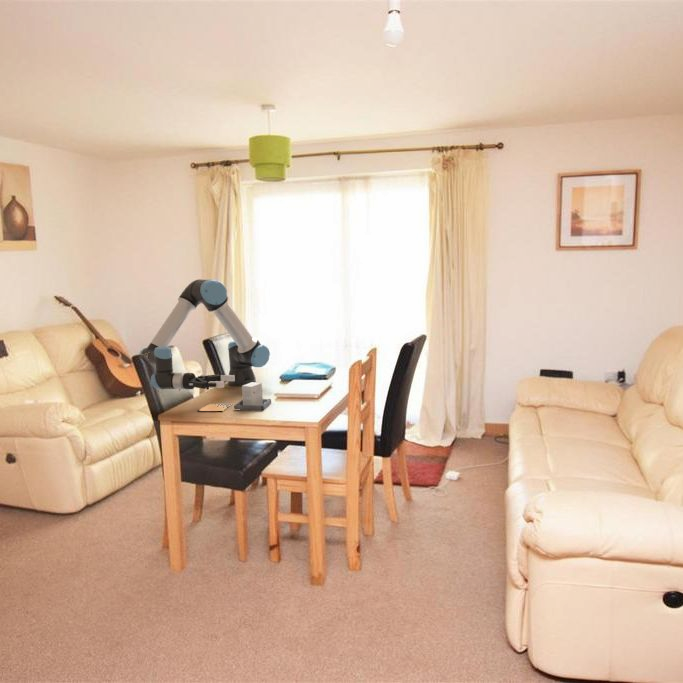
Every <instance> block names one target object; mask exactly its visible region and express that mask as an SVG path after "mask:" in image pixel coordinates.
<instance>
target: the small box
mask: <svg viewBox="0 0 683 683" xmlns="http://www.w3.org/2000/svg"><path fill="white" fill-rule="evenodd" d="M262 384H263V383H262V382H257V381H256V382H251V383H248V384H246V385H241V393H242V394H241V396H242V399H243V405H262V404H263V399H264V398H263V385H262Z"/></svg>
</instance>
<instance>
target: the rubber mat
mask: <svg viewBox="0 0 683 683" xmlns="http://www.w3.org/2000/svg"><path fill="white" fill-rule="evenodd" d="M216 404H218V406H219V405H220V404H221V405H223V404H224V405H226V407H228V406H229V405H231V404H232V403H220V402H219V403H217V402H216V403H215V405H216ZM221 405H220V406H221ZM224 405H223V406H224ZM218 406H217V407H218ZM231 406H232V405H231ZM223 408H224V407H223Z"/></svg>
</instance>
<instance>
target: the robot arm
mask: <svg viewBox="0 0 683 683" xmlns="http://www.w3.org/2000/svg"><path fill="white" fill-rule="evenodd" d="M227 290H228V289H227V287H226V286H225V284H224V283H223V282H221V281H220V280H216V279H201V278H200V279H196V280H193V281H192V282H190V283H189V284H188V285H187V286H186V287H185V288H184V289H183V291H182V292H181V293H180V295H179V297H178V298H177V300H178V301H177V304H176V305H175V306H174V308H173V309H172V311H171V313H169V315H168V316H167V318H166V319H165V321H164V322H163V324H162V325H161V326H160V328H159V330H158V331H157V332H156V335H155V336H154V337H153V339H152V340H151V341H150V343H149V344H148V346H147V347H145V348H143V349H141V350H140V352H139V355H141V354H145V353H148V352H150V353H148V359H149V362H150V364H151V365H150V366H153V367H155V372H153V373H152V375H151V376H150V384H152V385H151V387H152V386H153V387H154V389H155V388H156V389H155V390H157V389H158V390H178V391H182V390H194V389H195V388H196V389H202V390H210V388H211V389H217V388H218V389H219V388H220V389H223V388H225V382H226V383H227V385H229V386H237V387H238V386H243V385H246V384H248V383H251V382H256V383H257V379H256V375H255V372H254V371H253V368H252V367H254V368H262V367H264V366H266V365H267V363H268V362H269V360H270V355H271V353H270V349H269V347H267V346H266V345H264V344H261V341H259V339H258V338H257V337H255V336H252V334H251V333H250V332H249V331H248V329H247V328H246V326H245V325H244V324H243V322H242V321H241V319H240V318H239V316H238V315H237V313H236V312H235V310H234V309H233V308H232V306H231V305H230V304H229V296H228V294H227V293H228V291H227ZM200 304H203V306H204V307H205V308H206V309H207V311H208V312H212V313H213V314H214V315H215V317H216V318H217V320H218V321H219V323H220V324H221V325H222V326H223V328H224V329H225V330H226V332H227V333H228V334H229V336H230V337H231V339H232V340H233V341H230V342H229V343H228V347H227V348H228V349H227V351H228V359H229V360H228V361H229V362H228V363H229V372H228V375H227V374H226V375H225V374H223V375H222V373H221V372H220V373H219V374H218V373H217V374H209V375H207V374H205V375H198V376H196V374H195V373H193V372H174V369H173V368H174V366H173V352H172V348H171V347H170V346H169V345H170V344H171V342H172V341H173V339H174V338H175V337H176V334H177V333H178V331H179V330H180V328H181V327H182V325H183V324H184V323H185V322H186V320H187V318H188V317H189V315H190V313H191V312H192V311H195V310H196V309H197V307H198V306H200ZM139 355H138V356H139ZM146 355H147V354H146ZM153 387H152V388H153Z"/></svg>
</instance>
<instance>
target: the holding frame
mask: <svg viewBox="0 0 683 683" xmlns="http://www.w3.org/2000/svg"><path fill="white" fill-rule="evenodd" d="M271 404H272V399H271V398H263V404H262V405H243V398H242V399H241V400H240V401H238V402H237V403H236V404H235V405H233V408H234V409H240V410H239V411H251V410H263V411H265V410H266V409H267V408H268V407H269V406H270V405H271ZM234 409H233V410H234ZM264 409H265V410H264Z"/></svg>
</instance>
